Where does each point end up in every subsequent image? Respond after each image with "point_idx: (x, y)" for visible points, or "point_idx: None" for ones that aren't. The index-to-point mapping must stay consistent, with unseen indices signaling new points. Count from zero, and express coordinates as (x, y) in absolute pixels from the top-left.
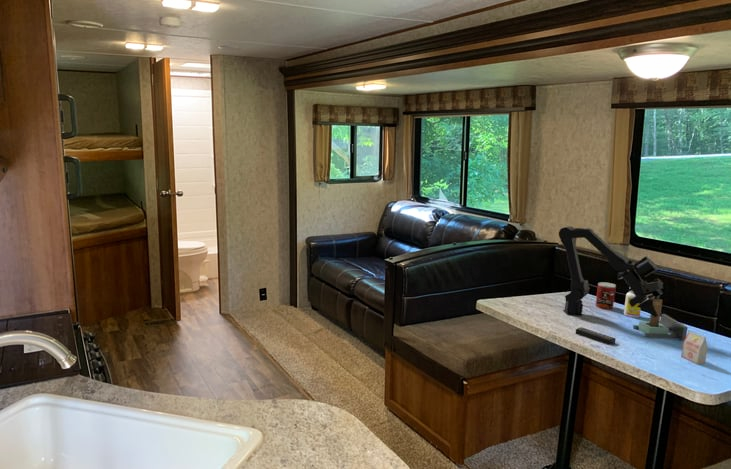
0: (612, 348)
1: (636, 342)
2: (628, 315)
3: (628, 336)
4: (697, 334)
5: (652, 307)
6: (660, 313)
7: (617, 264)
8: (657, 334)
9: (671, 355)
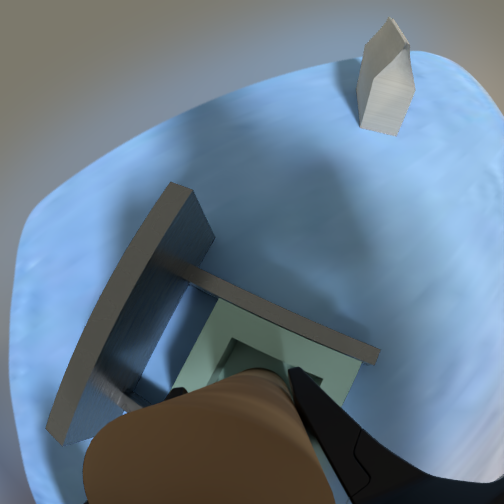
0: None
1: (468, 307)
2: None
3: (443, 390)
4: (399, 28)
5: (363, 442)
6: (221, 380)
7: None
8: (314, 324)
9: (422, 156)
